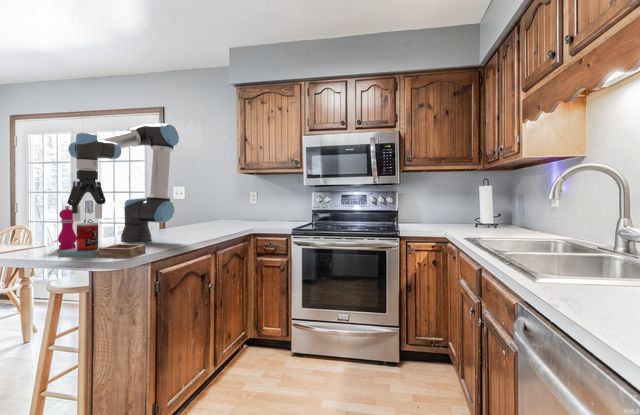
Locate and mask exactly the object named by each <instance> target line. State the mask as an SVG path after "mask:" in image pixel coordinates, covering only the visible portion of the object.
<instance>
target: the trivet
mask: <svg viewBox="0 0 640 415" xmlns="http://www.w3.org/2000/svg"><path fill="white" fill-rule="evenodd" d="M102 247H103V246H98V249H95V250H77V247H76V248H73V249H62V250H58V257H70V258H71V257H72V258H74V257H77V258H95V257H99V248H102Z"/></svg>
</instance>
